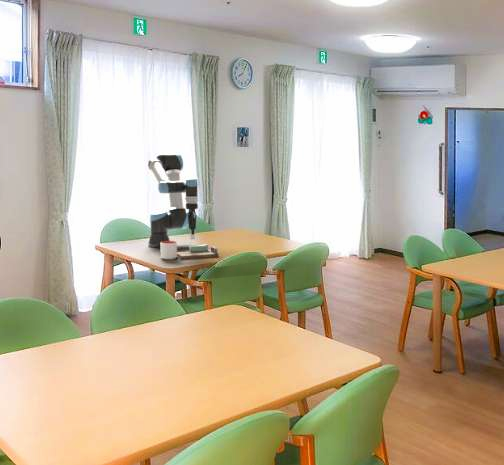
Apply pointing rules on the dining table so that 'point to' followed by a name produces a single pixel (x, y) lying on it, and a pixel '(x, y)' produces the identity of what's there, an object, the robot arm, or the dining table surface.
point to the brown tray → (198, 254)
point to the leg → (198, 247)
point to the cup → (168, 249)
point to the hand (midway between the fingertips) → (192, 239)
